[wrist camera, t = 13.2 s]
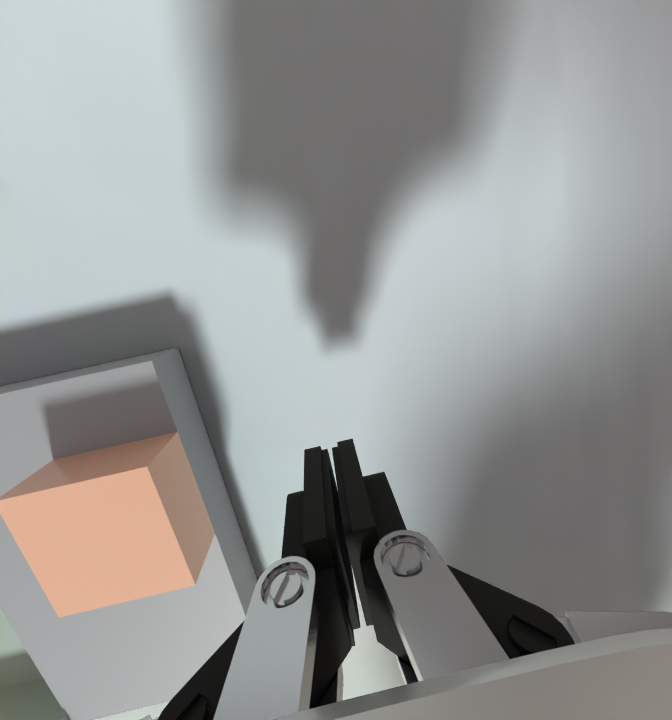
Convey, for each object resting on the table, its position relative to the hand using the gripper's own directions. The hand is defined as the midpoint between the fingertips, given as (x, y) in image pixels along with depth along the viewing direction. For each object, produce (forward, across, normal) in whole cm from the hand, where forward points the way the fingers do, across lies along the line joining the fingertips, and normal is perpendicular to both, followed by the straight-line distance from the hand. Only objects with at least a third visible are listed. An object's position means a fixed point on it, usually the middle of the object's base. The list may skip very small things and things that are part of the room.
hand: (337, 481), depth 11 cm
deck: (+5, +11, +4) cm, 13 cm away
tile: (+3, +8, 0) cm, 9 cm away
